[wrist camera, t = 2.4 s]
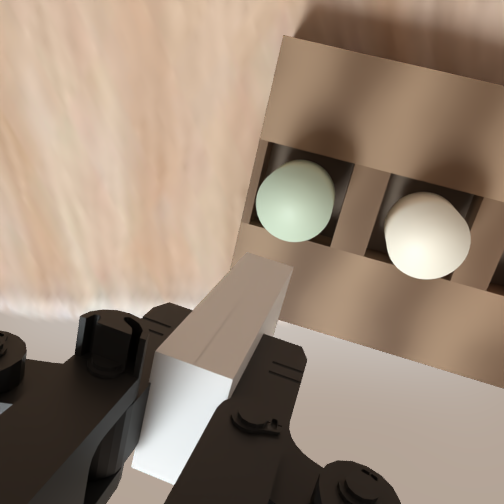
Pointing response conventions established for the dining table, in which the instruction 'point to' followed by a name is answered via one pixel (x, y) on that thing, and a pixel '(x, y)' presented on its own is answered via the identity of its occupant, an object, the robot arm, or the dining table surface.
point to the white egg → (426, 236)
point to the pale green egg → (296, 201)
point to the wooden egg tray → (388, 203)
